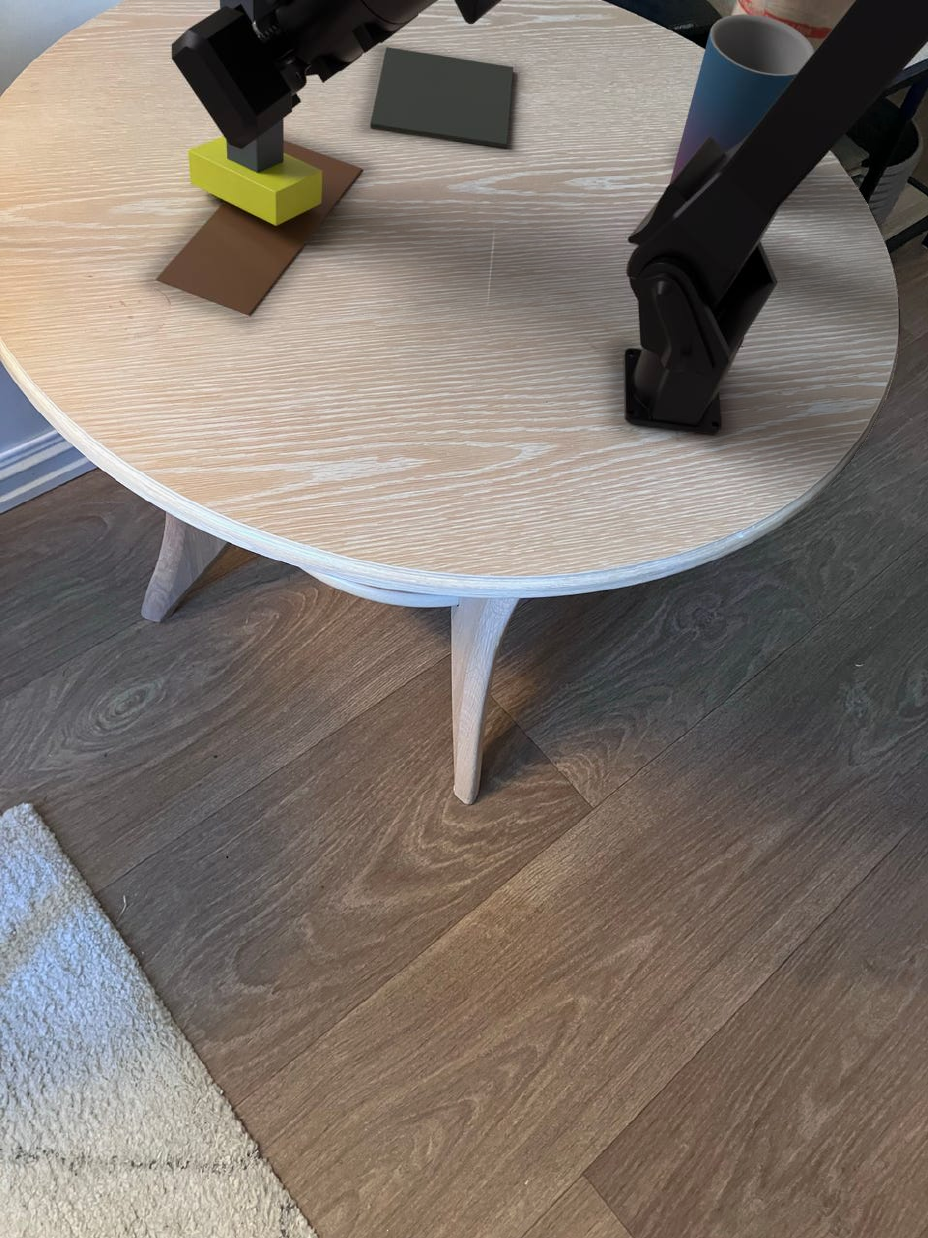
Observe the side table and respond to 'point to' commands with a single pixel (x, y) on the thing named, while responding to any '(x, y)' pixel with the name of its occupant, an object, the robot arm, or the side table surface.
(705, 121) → the cup
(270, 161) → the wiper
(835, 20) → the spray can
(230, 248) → the brown rectangular board
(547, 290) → the side table surface
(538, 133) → the side table surface
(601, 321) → the side table surface
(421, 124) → the mat
